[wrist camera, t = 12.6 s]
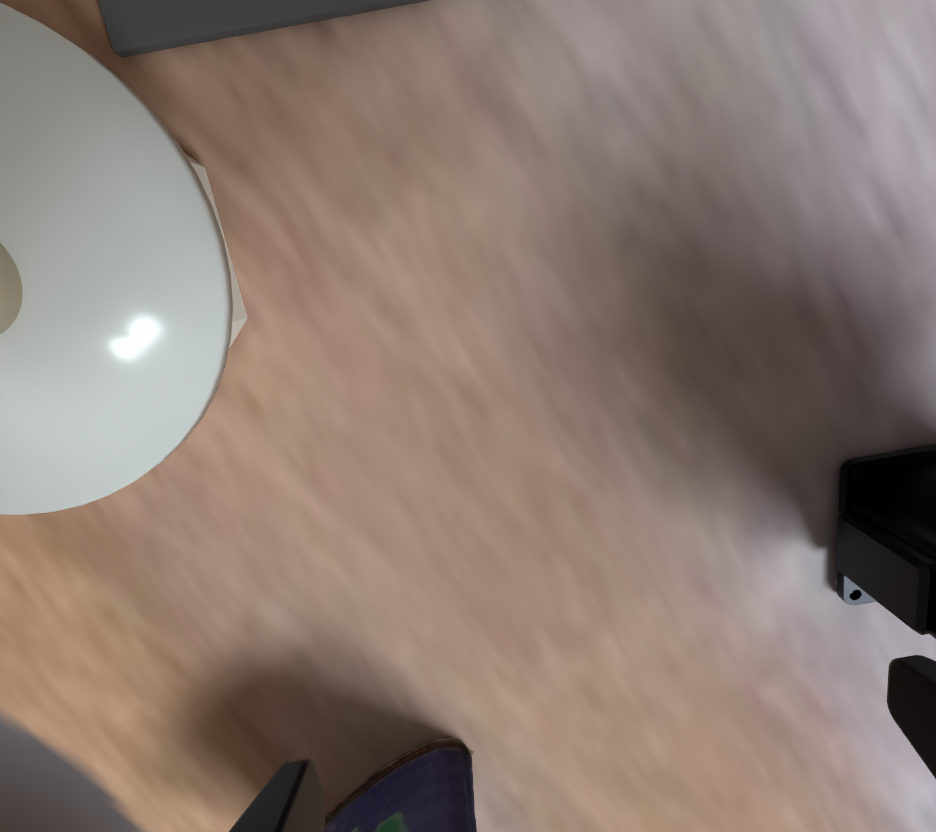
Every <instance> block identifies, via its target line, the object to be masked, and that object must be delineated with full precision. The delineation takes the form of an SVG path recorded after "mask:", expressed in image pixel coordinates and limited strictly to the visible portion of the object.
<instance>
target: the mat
mask: <svg viewBox="0 0 936 832" xmlns="http://www.w3.org/2000/svg"><path fill="white" fill-rule="evenodd" d="M422 1H428V0H98V2H99V6H100V9H101V12H102V15H103V19H104V22H105V25H106V28H107V32H108V35H109V38H110V41H111V44H112V48H113V51H114V53H116V54H117V55H119V56H121V57H125V56H131V55H136V54H141V53H147V52H152V51H158V50H163V49H168V48H174V47H179V46H185V45H190V44H195V43H201V42H206V41H212V40H217V39H222V38H228V37H233V36H239V35H244V34H250V33H255V32H260V31H266V30H271V29H277V28H282V27H287V26H293V25H298V24H304V23H309V22H314V21H320V20H325V19H331V18H336V17H341V16H347V15H352V14H358V13H363V12H368V11H374V10H379V9H385V8H390V7H395V6H401V5H406V4H412V3H417V2H422Z"/></svg>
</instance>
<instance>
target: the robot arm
mask: <svg viewBox="0 0 936 832" xmlns="http://www.w3.org/2000/svg"><path fill="white" fill-rule="evenodd" d="M858 468H859V470H858V473H857V474H856V475H854V476H853V474H854V471H855V470H856V469H858ZM837 570H838V571H837V593H838V596H839V597H840V598H841V599H842V600H843V601H845V602H846V603H847V604H849V605H859V604H865V603H871V602H879V603H880V604H881V605H882V606H884V607H885V608H886V609H887V610H889V611H890V612H891V613H893V614H894V615H895V616H896V617H898V618H899V619H900V620H901V621H903V622H904V623H905V624H906V625H908V626H909V627H910V628H912V629H913V630H914V631H916V632H917V633H919V634H921V635H924V634H930V635H932V636H933V637H934V638H935V639H936V444H934V445H928V446H922V447H916V448H911V449H905V450H899V451H893V452H887V453H882V454H876V455H870V456H864V457H858V458H853V459H850V460H847V461H846V462H845V463H844V464H843V465H842V467H841V469H840V484H839V516H838V524H837ZM852 591H854V592H853V593H851V592H852ZM850 593H851V594H850ZM887 704H888V708H889V711H890V713H891V715H892V717H893V719H894V720H895V722H896V723H897V725H898V726H899V728H900V729H901V730H902V732H903V733H904V735H905V736H906V738H907V739H908V740H909V742H910V743H911V745H912V746H913V747H914V749H915V750H916V752H917V753H918V755H919V756H920V757H921V759H922V760H923V762H924V763H925V764H926V766H927V767H928V769H929V770H930V772H931V773H932V774H933V776H934V777H935V779H936V661H934V660H932V659H929V658H927V657H924V656H920V655H914V656H908V657H902V658H896V659H893V660H892V661H891V663H890V664H889V671H888V689H887ZM325 819H326V800H325V795H324V792H323V789H322V786H321V783H320V779H319V776H318V773H317V770H316V767H315V764H314V762H313V761H312V760H311V759H310V758H303V759H297V760H291V761H287V762H285V763H284V764H283V765H281V767H280V768H279V769H278V770H277V771H276V773H275V774H274V775H273V777H272V778H271V779H270V780H269V782H268V783H267V784H266V785H265V787H264V788H263V789H262V790H261V792H260V793H259V794H258V795H257V797H256V798H255V799H254V801H253V802H252V803H251V804H250V806H249V807H248V808H247V809H246V811H245V812H244V813H243V814H242V816H241V817H240V818H239V820H238V821H237V822H236V823H235V825H234V826H233V827H232V828H231V830H230V831H229V832H324V828H325Z"/></svg>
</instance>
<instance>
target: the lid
mask: <svg viewBox="0 0 936 832" xmlns="http://www.w3.org/2000/svg"><path fill="white" fill-rule="evenodd" d="M232 315H233V299H232V285H231V273H230V268H229V263H228V258H227V253H226V248H225V243H224V239H223V236H222V233H221V230H220V227H219V224H218V221H217V218H216V215H215V212H214V209H213V207H212V205H211V202H210V200H209V198H208V196H207V194H206V192H205V190H204V187H203V185H202V183H201V181H200V179H199V177H198V175H197V173H196V171H195V170H194V168H193V166H192V165H191V163H190V161H189V160H188V158H187V157H186V155H185V153H184V152H183V150H182V148H181V147H180V145H179V143H178V142H177V141H176V139H175V138H174V137H173V135H172V134H171V133H170V132H169V130H168V129H167V128H166V126H165V125H164V124H163V123H162V121H161V120H160V119H159V117H158V116H157V115H156V114H155V112H154V111H153V110H152V109H151V108H150V107H149V106H148V105H147V104H146V103H145V102H144V101H143V100H142V99H141V98H140V97H139V96H138V95H137V93H136V92H135V91H134V90H133V89H132V88H131V87H130V86H129V85H128V84H127V83H126V82H125V81H123V80H122V79H121V78H120V77H119V76H117V75H116V74H115V73H114V72H113V71H111V70H110V69H109V68H108V67H106V66H105V65H104V64H103V63H102V62H100V61H99V60H98V59H97V58H96V57H94V56H93V55H91V54H90V53H88V52H87V51H85V50H84V49H82V48H80V47H79V46H77V45H76V44H74V43H73V42H71V41H70V40H68V39H67V38H65V37H64V36H62V35H60V34H59V33H57V32H55V31H54V30H52V29H50V28H49V27H47V26H45V25H43V24H42V23H40V22H38V21H37V20H35V19H33V18H31V17H29V16H27V15H24V14H22V13H20V12H18V11H16V10H14V9H12V8H10V7H8V6H6V5H4V4H2V3H0V514H22V515H23V514H34V513H44V512H54V511H58V510H63V509H67V508H72V507H76V506H81V505H83V504H86V503H89V502H92V501H94V500H97V499H100V498H103V497H105V496H108V495H110V494H112V493H114V492H115V491H117V490H119V489H121V488H123V487H125V486H127V485H129V484H131V483H132V482H134V481H135V480H137V479H138V478H140V477H141V476H142V475H144V474H145V473H147V472H148V471H149V470H151V469H152V468H154V467H155V466H156V465H158V464H159V463H160V462H162V461H163V460H164V459H166V458H167V457H168V456H169V455H170V454H171V453H172V452H173V451H174V450H176V449H177V448H178V447H179V446H180V445H181V444H182V443H183V442H184V441H185V440H186V439H187V437H188V436H189V435H190V433H191V432H192V431H193V429H194V428H195V427H196V425H197V424H198V423H199V421H200V420H201V419H202V417H203V416H204V414H205V412H206V410H207V408H208V406H209V404H210V403H211V401H212V399H213V397H214V395H215V393H216V391H217V388H218V385H219V382H220V379H221V377H222V374H223V371H224V368H225V365H226V360H227V355H228V350H229V345H230V340H231V332H232Z"/></svg>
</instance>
